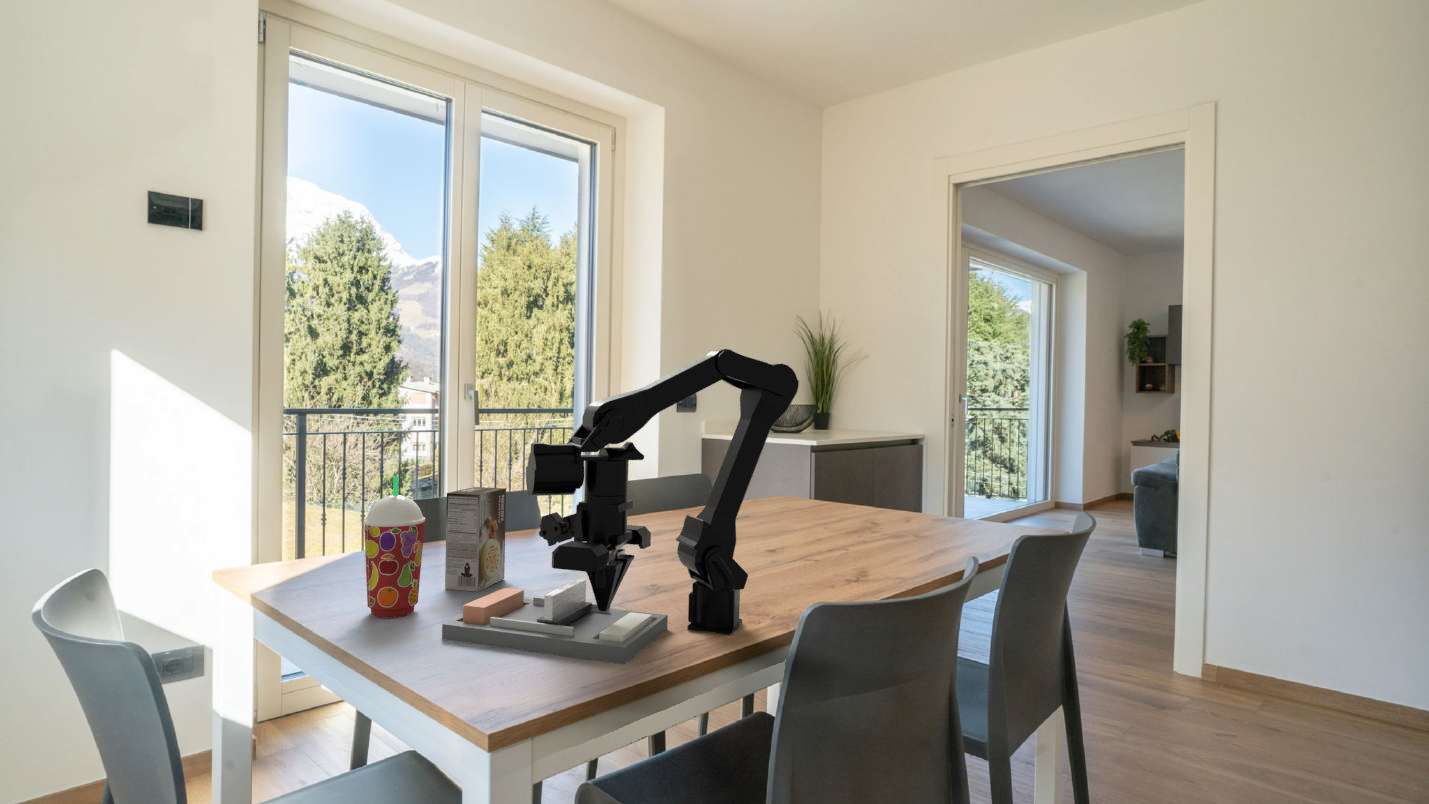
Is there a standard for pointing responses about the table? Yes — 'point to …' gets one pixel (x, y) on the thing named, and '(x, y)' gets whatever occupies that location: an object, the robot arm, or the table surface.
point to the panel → (556, 633)
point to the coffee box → (475, 538)
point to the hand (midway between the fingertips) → (603, 610)
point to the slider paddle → (565, 604)
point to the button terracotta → (493, 606)
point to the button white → (626, 627)
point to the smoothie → (393, 555)
